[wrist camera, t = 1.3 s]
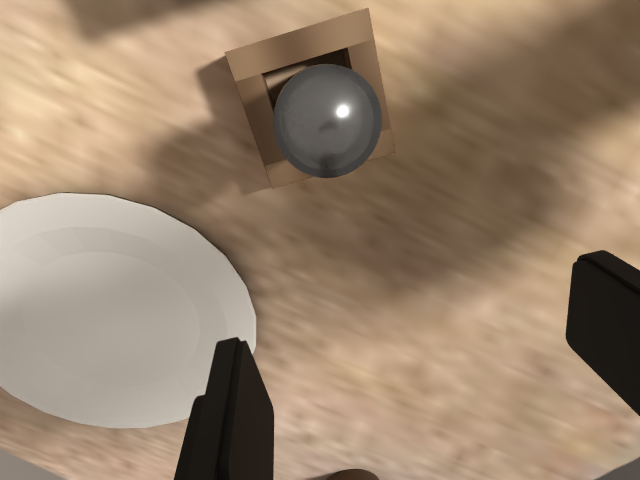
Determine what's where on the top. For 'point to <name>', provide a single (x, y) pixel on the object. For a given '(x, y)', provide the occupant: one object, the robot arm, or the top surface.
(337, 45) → the socket block
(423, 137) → the top surface
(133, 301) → the plate
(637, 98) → the top surface
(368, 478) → the plant pot
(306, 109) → the peg
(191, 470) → the robot arm
